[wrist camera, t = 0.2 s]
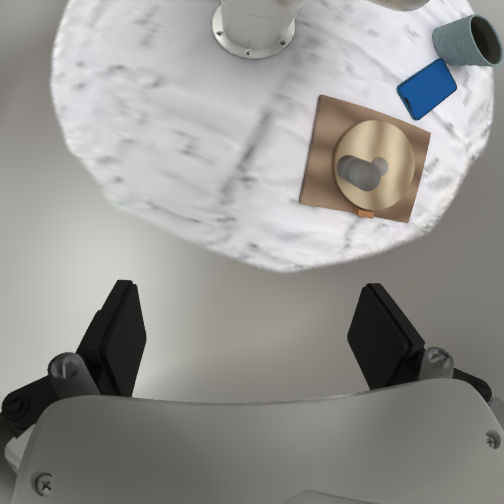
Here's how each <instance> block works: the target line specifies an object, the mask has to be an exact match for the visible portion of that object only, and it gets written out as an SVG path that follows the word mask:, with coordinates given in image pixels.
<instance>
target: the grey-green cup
mask: <svg viewBox="0 0 504 504" xmlns="http://www.w3.org/2000/svg"><path fill="white" fill-rule="evenodd" d="M432 36H433V43H434V47H435V49H436V51H437V53H438V55H439V56H440V57H441V58H442V59H443V60H444V61H445V62H446V63H448V64H450V65H458V66H461V65H471V66H472V65H477V66H492V67H498V66H499V65H500V64H501V63H502V61H503V47H502V43H501V40H500V38H499V36H498V34H497V32H496V30H495V29H494V27H493V26H492V24H491V23H490V22H489V21H488V20H487V19H486V18H484V17H483V16H481V15H477V14H473V15H471V16H468V17H465V18H463V19H460V20H457V21H454V22H452V23H449V24H446V25H444V26H441V27H439V28H437V29H435V30H434V32H433V35H432Z"/></svg>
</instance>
